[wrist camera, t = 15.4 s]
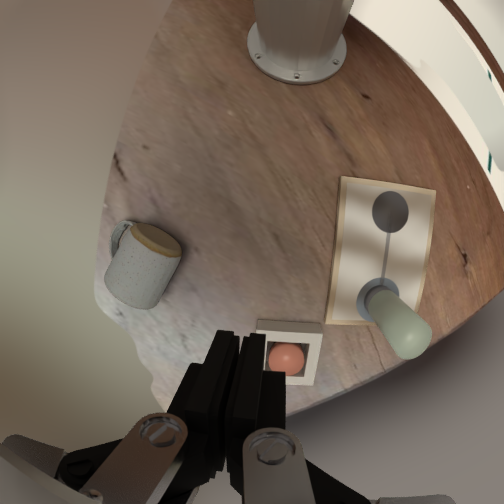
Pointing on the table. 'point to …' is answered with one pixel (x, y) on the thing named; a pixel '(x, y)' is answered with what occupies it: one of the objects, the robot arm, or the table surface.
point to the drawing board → (378, 246)
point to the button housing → (295, 334)
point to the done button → (286, 357)
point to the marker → (397, 322)
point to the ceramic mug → (141, 264)
